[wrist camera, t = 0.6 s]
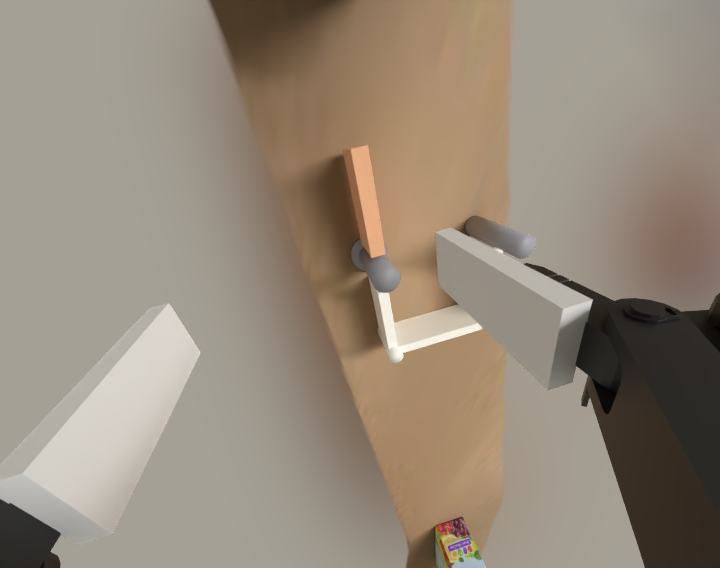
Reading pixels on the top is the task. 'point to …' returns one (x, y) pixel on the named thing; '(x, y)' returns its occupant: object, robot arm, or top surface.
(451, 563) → the snack box
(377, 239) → the gate
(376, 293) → the paddock fence
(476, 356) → the top surface
